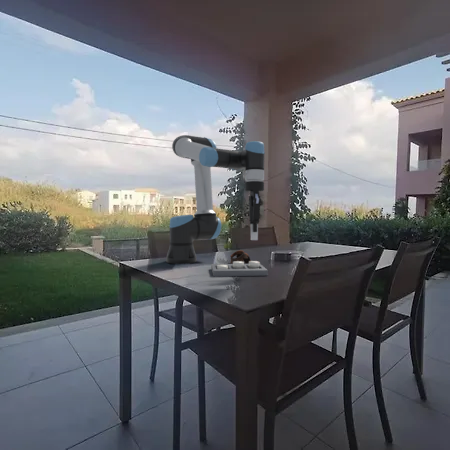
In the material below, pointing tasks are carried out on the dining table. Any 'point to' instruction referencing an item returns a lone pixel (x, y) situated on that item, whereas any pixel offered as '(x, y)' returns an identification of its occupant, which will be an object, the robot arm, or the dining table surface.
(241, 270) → the board
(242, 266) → the button mid
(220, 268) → the button
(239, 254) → the brown looped knot
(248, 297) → the dining table surface
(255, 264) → the button
